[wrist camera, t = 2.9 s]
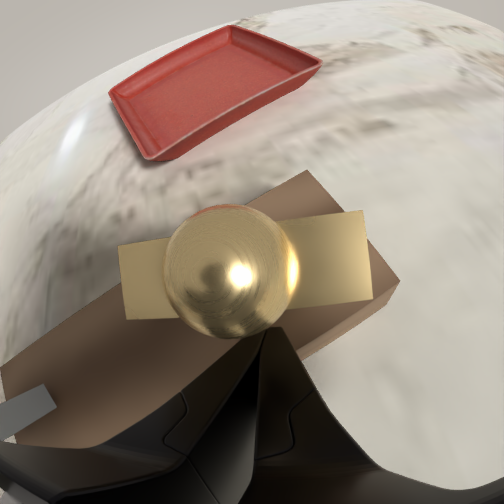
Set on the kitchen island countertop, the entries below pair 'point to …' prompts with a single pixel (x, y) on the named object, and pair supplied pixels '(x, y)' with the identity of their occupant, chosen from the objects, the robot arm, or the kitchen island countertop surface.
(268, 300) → the brass lever
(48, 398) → the slate lever
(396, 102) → the kitchen island countertop surface
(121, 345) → the walnut panel
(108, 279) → the kitchen island countertop surface
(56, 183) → the kitchen island countertop surface
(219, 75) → the plant saucer
